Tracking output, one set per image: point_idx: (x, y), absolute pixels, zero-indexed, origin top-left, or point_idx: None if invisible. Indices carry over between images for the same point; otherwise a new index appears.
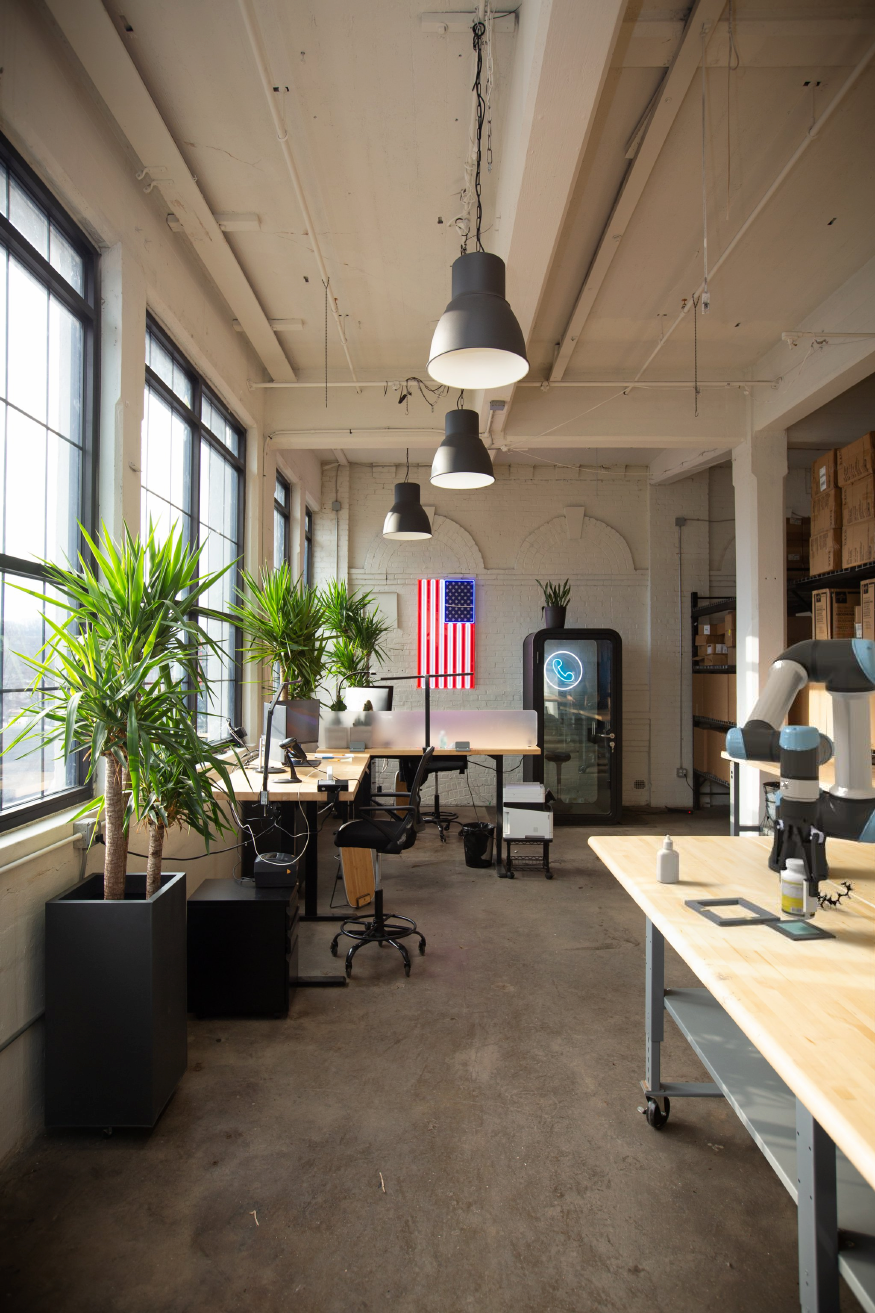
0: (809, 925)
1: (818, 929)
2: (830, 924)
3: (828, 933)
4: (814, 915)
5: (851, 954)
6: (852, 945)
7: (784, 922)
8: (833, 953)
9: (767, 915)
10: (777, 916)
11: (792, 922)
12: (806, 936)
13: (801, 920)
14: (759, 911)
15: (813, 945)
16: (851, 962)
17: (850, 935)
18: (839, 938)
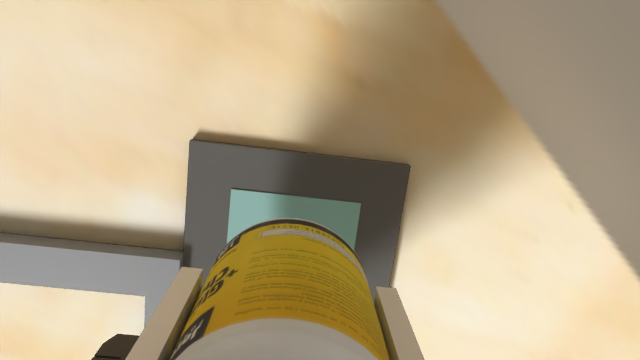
0: (272, 178)
1: (325, 178)
2: (264, 37)
3: (378, 176)
4: (358, 259)
5: (554, 248)
6: (493, 165)
7: (211, 258)
8: (519, 304)
9: (140, 295)
10: (163, 263)
11: (219, 223)
12: (373, 292)
13: (206, 162)
14: (80, 289)
15: (435, 314)
16: (602, 308)
17: (406, 69)
18: (416, 152)
